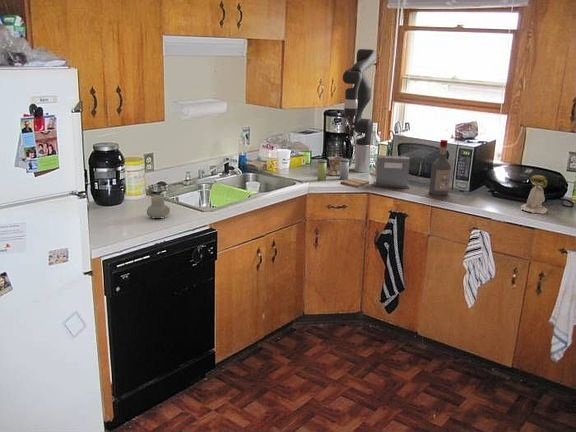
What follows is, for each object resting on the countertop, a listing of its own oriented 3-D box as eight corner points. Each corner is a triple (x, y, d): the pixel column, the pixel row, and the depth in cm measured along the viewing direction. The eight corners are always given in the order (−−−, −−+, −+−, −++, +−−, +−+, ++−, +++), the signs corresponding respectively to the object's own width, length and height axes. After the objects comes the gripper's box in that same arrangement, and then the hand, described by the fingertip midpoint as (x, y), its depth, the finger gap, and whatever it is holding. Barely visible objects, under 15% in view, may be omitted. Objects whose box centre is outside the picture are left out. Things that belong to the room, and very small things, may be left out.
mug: (342, 173, 375) (343, 156, 372) (342, 177, 366) (343, 160, 363) (323, 172, 376) (324, 156, 373) (322, 176, 367) (323, 159, 364)
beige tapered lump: (516, 206, 313) (521, 172, 308) (540, 207, 314) (545, 173, 309) (526, 213, 302) (531, 178, 297) (550, 213, 303) (556, 178, 297)
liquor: (450, 195, 332) (456, 141, 323) (435, 196, 330) (441, 142, 321) (441, 190, 341) (446, 138, 331) (427, 191, 338) (432, 139, 329)
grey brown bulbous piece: (161, 221, 276) (160, 200, 273) (144, 219, 278) (143, 199, 275) (171, 214, 286) (171, 194, 283) (156, 213, 288) (155, 193, 285)
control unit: (373, 182, 354) (375, 154, 349) (407, 184, 352) (410, 156, 347) (374, 186, 345) (376, 157, 340) (409, 188, 344) (411, 159, 338)
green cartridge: (320, 178, 361) (321, 159, 357) (327, 180, 358) (328, 160, 354) (315, 180, 357) (316, 160, 353) (322, 181, 354) (323, 161, 350)
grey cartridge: (342, 177, 365) (343, 158, 361) (349, 178, 362) (351, 159, 358) (338, 179, 361) (339, 159, 357) (345, 180, 358) (346, 160, 354)
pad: (351, 180, 359) (351, 178, 359) (368, 183, 352) (369, 181, 352) (340, 183, 350) (340, 181, 350) (357, 187, 343) (358, 185, 343)
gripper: (360, 108, 335) (359, 137, 340) (353, 105, 348) (352, 132, 353) (347, 109, 334) (346, 137, 339) (341, 105, 347) (340, 132, 352)
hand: (349, 135), depth 346 cm, fingers open, 8 cm apart
